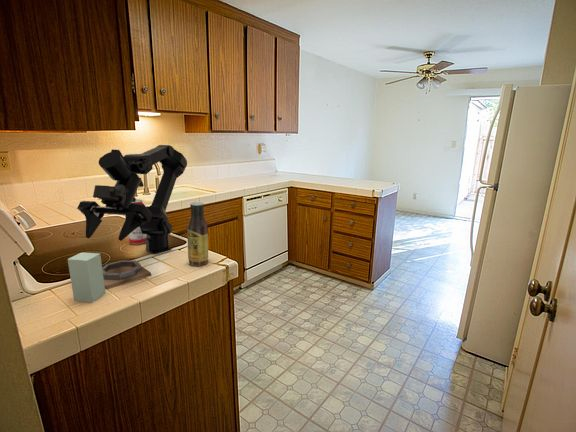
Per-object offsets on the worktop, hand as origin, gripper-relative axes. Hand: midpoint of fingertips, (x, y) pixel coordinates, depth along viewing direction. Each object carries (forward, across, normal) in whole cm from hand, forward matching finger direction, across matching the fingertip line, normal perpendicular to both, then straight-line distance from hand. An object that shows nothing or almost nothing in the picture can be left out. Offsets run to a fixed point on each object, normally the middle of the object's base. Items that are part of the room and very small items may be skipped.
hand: (103, 238), depth 82 cm
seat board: (+5, 0, +13) cm, 14 cm away
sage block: (+14, 0, +4) cm, 15 cm away
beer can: (-13, -11, +32) cm, 36 cm away
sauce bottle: (-3, +18, +22) cm, 29 cm away
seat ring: (+5, 0, +13) cm, 14 cm away
